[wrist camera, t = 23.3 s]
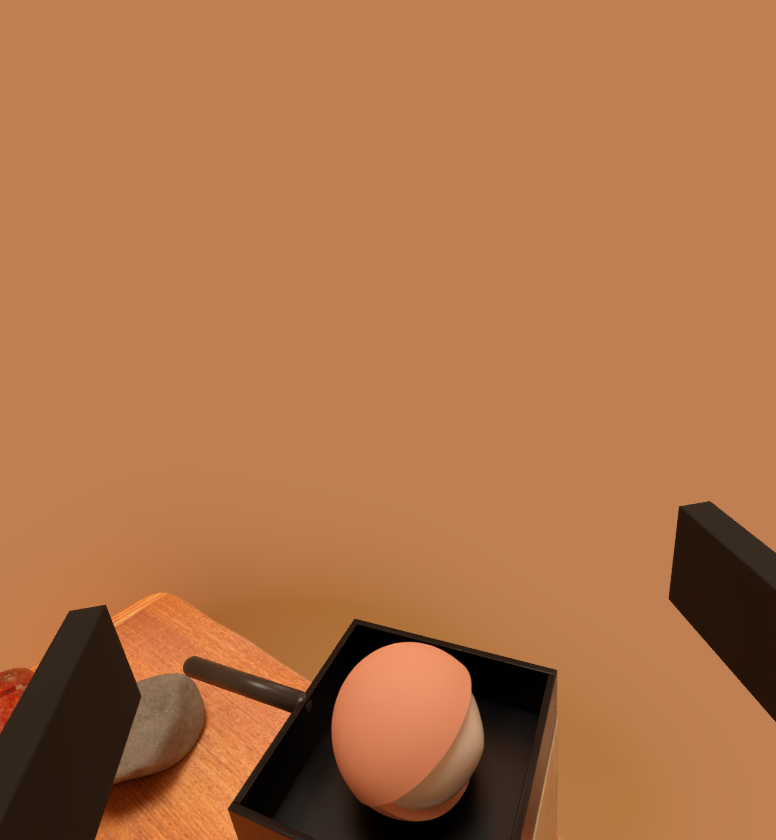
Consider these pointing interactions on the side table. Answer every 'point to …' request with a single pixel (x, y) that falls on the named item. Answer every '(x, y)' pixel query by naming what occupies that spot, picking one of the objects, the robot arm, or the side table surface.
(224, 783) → the side table surface
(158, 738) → the stone
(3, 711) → the pomegranate
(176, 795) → the side table surface
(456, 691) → the toy ball
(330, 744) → the pan
